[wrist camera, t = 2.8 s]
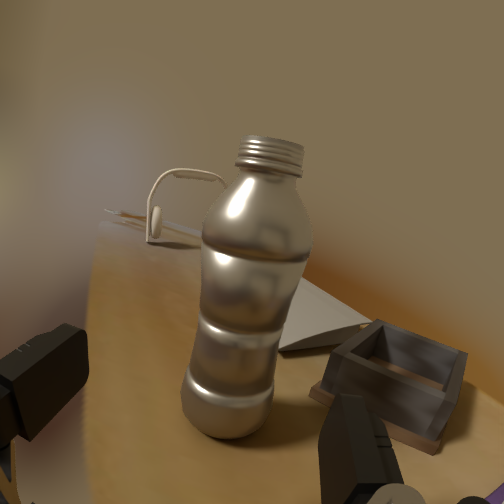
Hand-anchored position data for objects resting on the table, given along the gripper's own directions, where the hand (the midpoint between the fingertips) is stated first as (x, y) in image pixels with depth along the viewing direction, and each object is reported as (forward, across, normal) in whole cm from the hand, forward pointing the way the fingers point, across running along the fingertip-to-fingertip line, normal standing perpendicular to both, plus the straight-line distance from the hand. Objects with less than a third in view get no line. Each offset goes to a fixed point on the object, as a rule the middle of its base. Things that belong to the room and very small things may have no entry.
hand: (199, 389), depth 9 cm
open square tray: (+18, -16, +11) cm, 27 cm away
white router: (+35, -5, +12) cm, 38 cm away
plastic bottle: (+11, 0, +12) cm, 16 cm away
